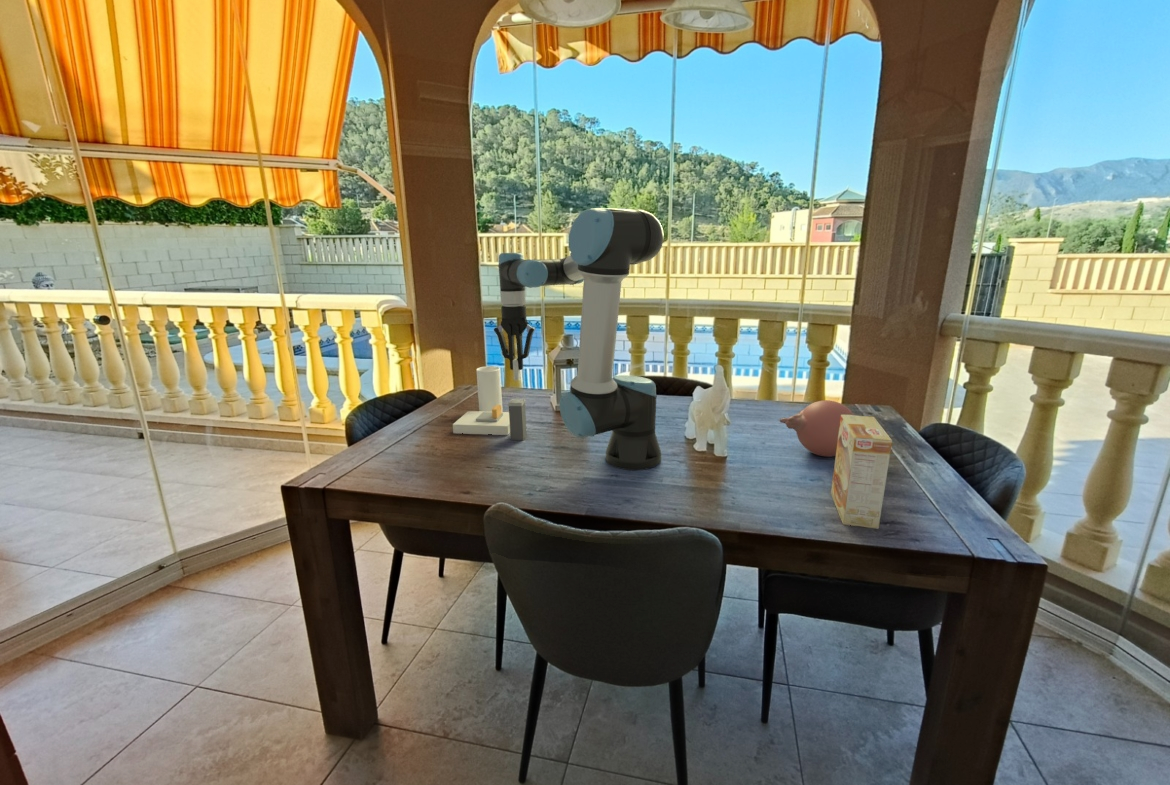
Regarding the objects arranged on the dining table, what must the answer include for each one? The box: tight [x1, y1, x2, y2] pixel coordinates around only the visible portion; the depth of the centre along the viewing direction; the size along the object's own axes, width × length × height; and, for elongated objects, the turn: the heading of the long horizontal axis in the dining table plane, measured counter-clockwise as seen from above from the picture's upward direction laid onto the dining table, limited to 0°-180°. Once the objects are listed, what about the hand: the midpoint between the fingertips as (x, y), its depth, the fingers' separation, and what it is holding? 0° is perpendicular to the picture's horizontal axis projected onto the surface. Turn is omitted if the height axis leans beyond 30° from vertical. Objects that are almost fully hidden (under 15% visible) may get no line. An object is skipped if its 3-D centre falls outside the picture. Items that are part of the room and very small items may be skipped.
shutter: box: [476, 405, 503, 422], centre depth 165 cm, size 7×7×4 cm
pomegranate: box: [779, 399, 855, 458], centre depth 139 cm, size 15×20×15 cm
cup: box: [475, 365, 504, 412], centre depth 180 cm, size 8×8×16 cm
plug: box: [507, 398, 527, 441], centre depth 155 cm, size 4×4×12 cm
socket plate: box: [452, 410, 510, 436], centre depth 166 cm, size 18×14×3 cm
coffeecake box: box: [830, 414, 893, 530], centre depth 108 cm, size 15×7×20 cm, turn 163°
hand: (517, 379), depth 161 cm, fingers closed
